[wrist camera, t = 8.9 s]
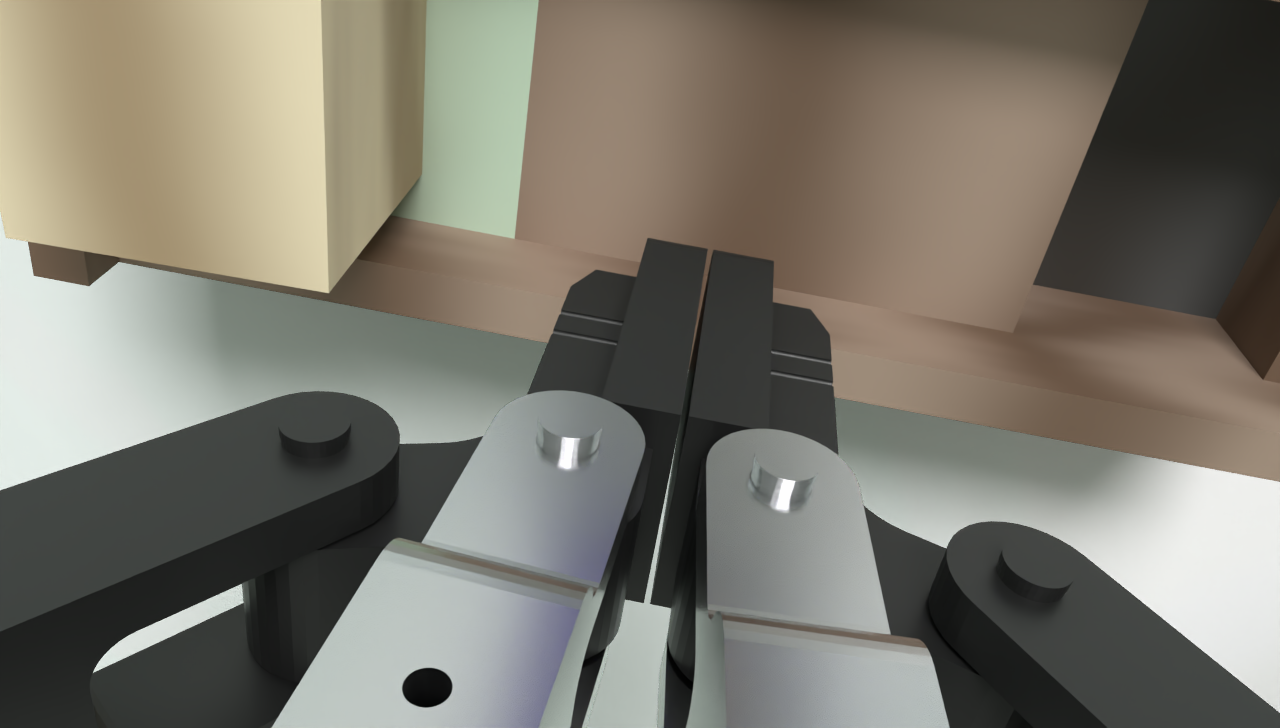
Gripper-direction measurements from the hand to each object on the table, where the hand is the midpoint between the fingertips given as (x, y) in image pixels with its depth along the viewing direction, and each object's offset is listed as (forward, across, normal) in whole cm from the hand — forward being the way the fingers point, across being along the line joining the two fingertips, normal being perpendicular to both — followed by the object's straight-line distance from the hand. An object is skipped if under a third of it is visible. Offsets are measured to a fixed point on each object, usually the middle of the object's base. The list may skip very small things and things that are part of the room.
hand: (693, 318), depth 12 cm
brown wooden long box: (+10, 0, 0) cm, 11 cm away
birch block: (+7, +8, 0) cm, 11 cm away
